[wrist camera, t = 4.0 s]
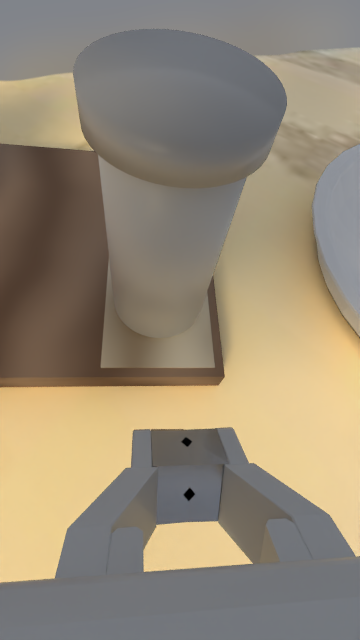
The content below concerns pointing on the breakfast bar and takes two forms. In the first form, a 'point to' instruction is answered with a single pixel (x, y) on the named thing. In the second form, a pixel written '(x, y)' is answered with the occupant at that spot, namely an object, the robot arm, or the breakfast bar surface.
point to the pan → (340, 232)
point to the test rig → (77, 287)
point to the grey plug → (172, 160)
